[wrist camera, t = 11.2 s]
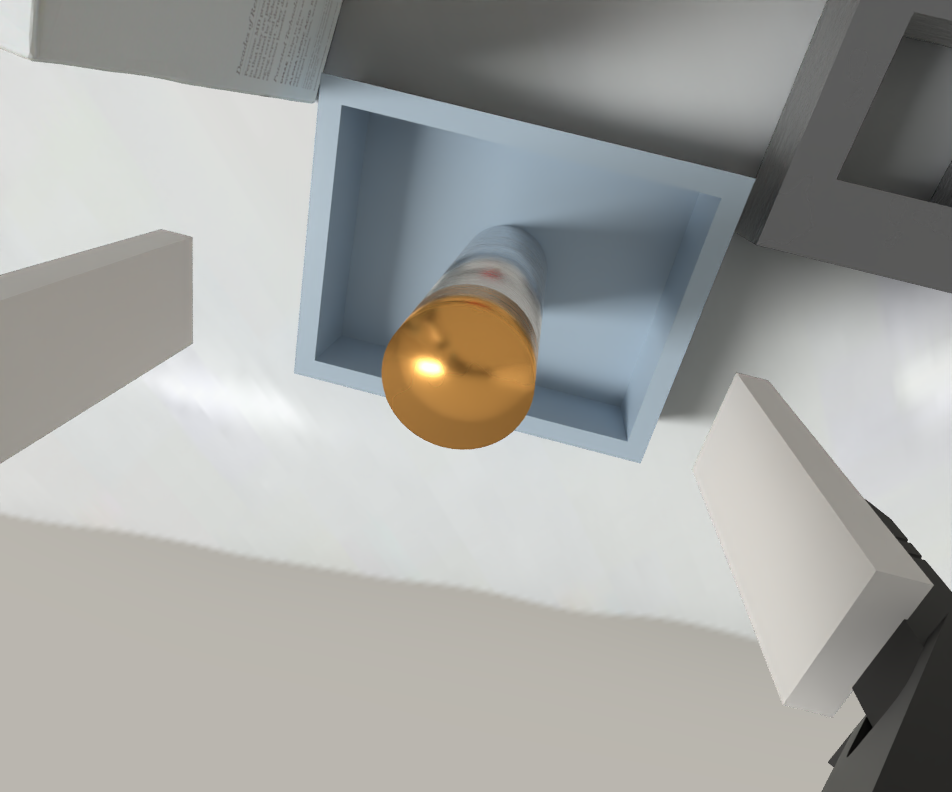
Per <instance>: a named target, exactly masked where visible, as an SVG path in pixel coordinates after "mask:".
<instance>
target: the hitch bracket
mask: <svg viewBox="0 0 952 792" xmlns="http://www.w3.org/2000/svg"><path fill="white" fill-rule="evenodd" d="M902 36H905V37H909V38H913V39H917V40H922V41H926V42H930V43H934V44H939V45H943V46H947V47H951V48H952V0H827V3H826V5H825V8H824V10H823V13H822V15H821V18H820V20H819V22H818V25H817V27H816V30H815V32H814V35H813V37H812V40H811V42H810V45H809V47H808V50H807V52H806V55H805V57H804V60H803V62H802V65H801V67H800V69H799V72H798V74H797V77H796V79H795V82H794V84H793V87H792V89H791V92H790V94H789V97H788V99H787V102H786V104H785V107H784V109H783V111H782V114H781V116H780V119H779V121H778V124H777V126H776V129H775V131H774V134H773V136H772V139H771V141H770V144H769V146H768V149H767V151H766V154H765V156H764V158H763V161H762V163H761V166H760V168H759V171H758V173H757V176H756V178H755V182H754V184H753V187H752V189H751V191H750V194H749V196H748V199H747V201H746V204H745V206H744V209H743V211H742V214H741V216H740V219H739V221H738V224H737V226H736V229H735V231H734V232H736V233H737V234H739V235H741V236H742V237H744V238H746V239H747V240H749V241H751V242H752V243H754V244H756V245H759V246H763V247H767V248H771V249H775V250H779V251H783V252H787V253H791V254H795V255H799V256H803V257H807V258H811V259H815V260H819V261H823V262H827V263H831V264H835V265H840V266H844V267H848V268H852V269H856V270H860V271H864V272H868V273H872V274H876V275H880V276H884V277H888V278H892V279H896V280H900V281H904V282H908V283H912V284H916V285H920V286H924V287H928V288H932V289H936V290H941V291H945V292H949V293H952V161H951V163H950V165H949V167H948V169H947V171H946V173H945V174H944V176H943V178H942V180H941V182H940V184H939V186H938V187H937V189H936V191H935V193H934V195H933V197H932V199H931V200H930V202H928V201H923V200H919V199H915V198H911V197H907V196H903V195H899V194H895V193H891V192H886V191H882V190H878V189H874V188H870V187H866V186H862V185H858V184H854V183H849V182H845V181H841V180H837V177H838V175H839V173H840V171H841V168H842V166H843V164H844V162H845V160H846V158H847V155H848V153H849V151H850V149H851V147H852V145H853V142H854V140H855V138H856V136H857V134H858V132H859V129H860V127H861V125H862V123H863V121H864V119H865V117H866V114H867V112H868V110H869V108H870V106H871V104H872V101H873V99H874V97H875V95H876V93H877V91H878V88H879V86H880V84H881V82H882V80H883V78H884V75H885V73H886V71H887V69H888V67H889V65H890V62H891V60H892V58H893V56H894V54H895V52H896V49H897V47H898V45H899V43H900V41H901V39H902Z"/></svg>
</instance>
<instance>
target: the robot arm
mask: <svg viewBox="0 0 952 792" xmlns="http://www.w3.org/2000/svg"><path fill="white" fill-rule="evenodd" d="M191 344H193V289H192V237H190V236H186V235H182V234H178V233H174V232H170V231H166V230H162V229H160V230H157V231H153V232H150V233H146V234H142V235H139V236H135V237H132V238H128V239H125V240H121V241H118V242H114V243H111V244H107V245H104V246H100V247H97V248H93V249H90V250H86V251H83V252H79V253H76V254H72V255H69V256H65V257H62V258H58V259H55V260H51V261H48V262H44V263H41V264H37V265H34V266H30V267H27V268H23V269H20V270H16V271H13V272H9V273H6V274H2V275H0V464H1V463H2V462H4V461H5V460H7V459H9V458H10V457H12V456H13V455H15V454H17V453H18V452H20V451H21V450H23V449H25V448H26V447H28V446H29V445H31V444H33V443H34V442H36V441H37V440H39V439H41V438H42V437H44V436H45V435H47V434H49V433H50V432H52V431H53V430H55V429H57V428H58V427H60V426H61V425H63V424H65V423H66V422H68V421H69V420H71V419H73V418H74V417H76V416H77V415H79V414H81V413H82V412H84V411H85V410H87V409H89V408H90V407H92V406H93V405H95V404H97V403H98V402H100V401H101V400H103V399H105V398H106V397H108V396H109V395H111V394H113V393H114V392H116V391H117V390H119V389H121V388H122V387H124V386H125V385H127V384H129V383H130V382H132V381H133V380H135V379H137V378H138V377H140V376H141V375H143V374H145V373H146V372H148V371H149V370H151V369H153V368H154V367H156V366H157V365H159V364H161V363H162V362H164V361H165V360H167V359H169V358H170V357H172V356H173V355H175V354H177V353H178V352H180V351H181V350H183V349H185V348H186V347H188V346H189V345H191ZM692 471H693V474H694V477H695V479H696V482H697V484H698V487H699V489H700V492H701V495H702V497H703V500H704V502H705V505H706V508H707V510H708V513H709V515H710V518H711V520H712V523H713V526H714V528H715V531H716V533H717V536H718V539H719V541H720V544H721V546H722V549H723V551H724V554H725V557H726V559H727V562H728V564H729V567H730V570H731V572H732V575H733V577H734V580H735V582H736V585H737V588H738V590H739V593H740V595H741V598H742V601H743V603H744V606H745V608H746V611H747V614H748V616H749V619H750V621H751V624H752V626H753V629H754V632H755V634H756V637H757V639H758V642H759V645H760V647H761V649H762V652H763V655H764V657H765V660H766V663H767V665H768V668H769V670H770V673H771V676H772V678H773V681H774V683H775V686H776V688H777V691H778V693H779V696H780V699H781V701H782V704H783V705H785V706H789V707H793V708H797V709H801V710H804V711H808V712H812V713H816V714H820V715H824V716H828V717H831V718H832V717H833V716H834V715H835V714H836V712H837V711H838V710H839V708H840V707H841V706H842V704H843V703H844V702H845V701H846V699H847V698H848V697H849V695H850V694H851V693H852V691H854V693H855V694H856V696H857V698H858V700H859V702H860V704H861V706H862V708H863V710H864V712H865V714H866V715H865V717H864V718H863V719H862V720H861V722H860V723H859V724H858V725H857V727H856V728H855V729H854V731H853V732H852V733H851V734H850V735H849V737H848V738H847V739H846V740H845V741H844V743H843V744H842V745H841V747H840V748H839V749H838V750H837V752H836V753H835V754H834V755H833V756H832V758H831V759H830V760H829V762H828V763H829V764H831V765H832V766H833V767H834V768H833V770H832V772H831V774H830V776H829V778H828V780H827V782H826V784H825V786H824V788H823V790H822V792H952V592H951V590H950V589H949V588H948V587H947V586H946V584H945V583H944V582H943V581H942V580H941V578H940V577H939V576H938V575H937V574H936V572H935V571H934V570H933V569H932V568H931V566H930V565H929V564H928V563H927V562H926V561H925V560H922V559H921V557H922V556H921V555H920V553H919V552H918V551H917V550H916V549H915V547H914V546H913V545H912V544H911V543H908V542H907V541H908V539H907V538H906V537H905V535H904V534H903V533H902V532H901V531H900V529H899V528H898V527H897V526H896V525H895V523H894V522H893V521H892V520H891V519H890V518H889V517H887V516H886V515H885V514H884V513H882V512H881V511H880V510H879V509H877V508H876V507H875V506H874V505H872V504H871V503H870V502H868V501H867V500H865V499H864V498H863V497H862V496H861V494H860V493H859V492H858V491H857V489H856V488H855V487H854V486H853V484H852V483H851V482H850V481H849V480H848V478H847V477H846V476H845V475H844V473H843V472H842V471H841V470H840V468H839V467H838V466H837V465H836V463H835V462H834V461H833V460H832V458H831V457H830V456H829V455H828V454H827V452H826V451H825V450H824V449H823V447H822V446H821V445H820V444H819V442H818V441H817V440H816V439H815V437H814V436H813V435H812V434H811V433H810V431H809V430H808V429H807V428H806V426H805V425H804V424H803V423H802V421H801V420H800V419H799V418H798V416H797V415H796V414H795V413H794V411H793V410H792V409H791V408H790V407H789V405H788V404H787V403H786V402H785V400H784V399H783V398H782V397H781V395H780V394H779V393H778V392H777V390H776V389H775V388H774V387H773V385H772V384H771V383H770V382H769V381H768V380H764V379H760V378H756V377H752V376H748V375H744V374H740V373H736V374H735V376H734V379H733V381H732V383H731V385H730V387H729V389H728V392H727V394H726V396H725V398H724V400H723V402H722V405H721V407H720V409H719V411H718V413H717V415H716V418H715V420H714V422H713V424H712V426H711V429H710V431H709V433H708V435H707V437H706V439H705V442H704V444H703V446H702V448H701V450H700V452H699V455H698V457H697V459H696V461H695V463H694V465H693V468H692Z"/></svg>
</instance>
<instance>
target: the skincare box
mask: <svg viewBox="0 0 952 792" xmlns="http://www.w3.org/2000/svg"><path fill="white" fill-rule="evenodd" d="M342 2H343V0H0V49H3V50H5V51H8V52H10V53H13V54H15V55H18V56H20V57H23V58H25V59H28V60H31V61H36V62H45V63H55V64H63V65H70V66H77V67H83V68H90V69H96V70H102V71H109V72H118V73H127V74H135V75H142V76H149V77H154V78H160V79H165V80H170V81H174V82H178V83H183V84H188V85H194V86H201V87H207V88H213V89H220V90H227V91H233V92H239V93H245V94H252V95H260V96H264V97H272V98H279V99H285V100H290V101H297V102H304V103H314V102H315V100H316V96H317V92H318V88H319V85H320V78H321V73H323V70H324V67H325V63H326V59H327V55H328V52H329V48H330V45H331V41H332V38H333V34H334V31H335V27H336V23H337V20H338V16H339V13H340V9H341V5H342Z"/></svg>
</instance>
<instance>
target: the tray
mask: <svg viewBox="0 0 952 792" xmlns="http://www.w3.org/2000/svg"><path fill="white" fill-rule="evenodd" d="M754 182H755V178H751V177H748V176H744V175H740V174H736V173H732V172H728V171H725V170H720V169H716V168H712V167H708V166H704V165H700V164H696V163H692V162H688V161H684V160H679V159H675V158H671V157H667V156H663V155H659V154H655V153H651V152H647V151H643V150H638V149H634V148H630V147H626V146H622V145H618V144H614V143H610V142H606V141H602V140H598V139H593V138H589V137H585V136H581V135H577V134H573V133H569V132H565V131H561V130H557V129H552V128H548V127H544V126H540V125H536V124H532V123H528V122H524V121H520V120H516V119H511V118H507V117H503V116H499V115H495V114H491V113H487V112H483V111H479V110H475V109H470V108H466V107H462V106H458V105H454V104H450V103H446V102H442V101H438V100H434V99H430V98H425V97H421V96H417V95H413V94H409V93H405V92H401V91H397V90H393V89H389V88H384V87H380V86H376V85H372V84H368V83H364V82H360V81H356V80H351V79H347V78H343V77H338V76H334V75H330V74H325V73H321V78H320V90H319V101H318V112H317V123H316V134H315V145H314V157H313V168H312V179H311V190H310V201H309V212H308V224H307V235H306V246H305V257H304V268H303V279H302V291H301V302H300V313H299V324H298V335H297V346H296V358H295V369H294V373H295V374H299V375H303V376H307V377H311V378H314V379H318V380H322V381H326V382H330V383H334V384H338V385H341V386H345V387H349V388H353V389H357V390H361V391H364V392H368V393H372V394H376V395H380V396H384V397H386V396H385V393H384V389H383V384H382V373H381V371H382V361H383V357H384V353H385V351H386V348H387V345H388V343H389V342H390V340H391V338H392V337H393V335H394V334H395V333H396V331H397V330H398V329H399V328H400V326H401V325H402V324H403V323H404V322H405V320H406V319H407V318H408V317H409V315H410V314H411V313H412V312H413V311H414V309H415V308H416V307H417V306H418V304H419V303H420V302H421V301H422V300H423V298H424V297H425V296H426V295H427V294H428V292H429V291H430V290H431V289H432V287H433V286H434V285H435V284H436V283H437V281H438V280H439V279H440V278H441V276H442V275H443V274H444V273H445V272H446V270H447V269H448V268H449V267H450V265H451V264H452V263H453V262H454V261H455V259H456V258H457V257H458V256H459V254H460V253H461V252H462V251H463V250H464V248H465V247H466V246H467V245H468V244H469V242H470V241H471V240H472V239H473V238H474V237H475V236H476V235H477V234H478V233H480V232H481V231H483V230H485V229H487V228H489V227H493V226H497V225H511V226H515V227H518V228H521V229H523V230H525V231H527V232H528V233H530V234H531V235H532V236H533V237H534V238H535V239H536V240H537V241H538V242H539V244H540V245H541V247H542V249H543V251H544V253H545V256H546V260H547V279H546V289H545V298H544V307H543V316H542V326H541V335H540V344H539V353H538V362H537V372H536V381H535V390H534V396H533V400H532V403H531V406H530V409H529V411H528V413H527V415H526V416H525V418H524V419H523V421H522V422H521V423H520V425H519V426H518V427H517V428H516V429H515V430H514V431H518V432H522V433H526V434H530V435H534V436H537V437H541V438H545V439H549V440H553V441H557V442H560V443H564V444H568V445H572V446H576V447H580V448H584V449H587V450H591V451H595V452H599V453H603V454H607V455H610V456H614V457H618V458H622V459H626V460H630V461H633V462H637V463H641V461H642V458H643V456H644V453H645V451H646V448H647V446H648V443H649V441H650V439H651V436H652V434H653V431H654V429H655V426H656V424H657V421H658V419H659V416H660V414H661V411H662V409H663V406H664V404H665V401H666V399H667V397H668V394H669V392H670V389H671V387H672V384H673V382H674V379H675V377H676V374H677V372H678V369H679V367H680V364H681V362H682V359H683V357H684V355H685V352H686V350H687V347H688V345H689V342H690V340H691V337H692V335H693V332H694V330H695V327H696V325H697V322H698V320H699V317H700V315H701V313H702V310H703V308H704V305H705V303H706V300H707V298H708V295H709V293H710V290H711V288H712V285H713V283H714V280H715V278H716V275H717V273H718V271H719V268H720V266H721V263H722V261H723V258H724V256H725V253H726V251H727V248H728V246H729V243H730V241H731V238H732V236H733V233H734V231H735V229H736V226H737V224H738V221H739V219H740V216H741V214H742V211H743V209H744V206H745V204H746V201H747V199H748V196H749V194H750V191H751V189H752V187H753V184H754Z"/></svg>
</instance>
